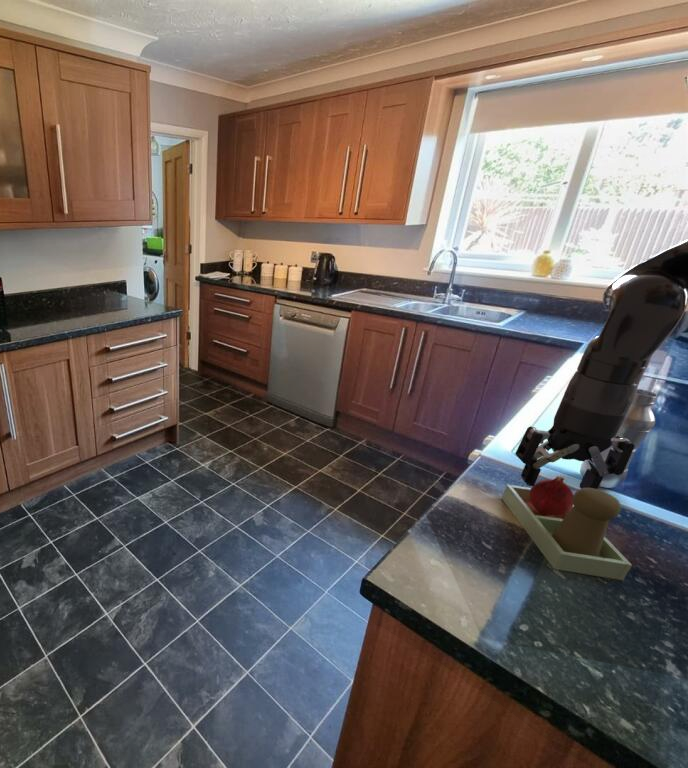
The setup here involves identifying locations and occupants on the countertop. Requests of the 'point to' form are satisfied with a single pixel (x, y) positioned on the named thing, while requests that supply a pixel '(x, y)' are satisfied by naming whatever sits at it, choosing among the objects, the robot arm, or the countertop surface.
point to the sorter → (540, 532)
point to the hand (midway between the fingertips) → (556, 486)
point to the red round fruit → (551, 497)
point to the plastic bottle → (630, 433)
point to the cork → (586, 522)
